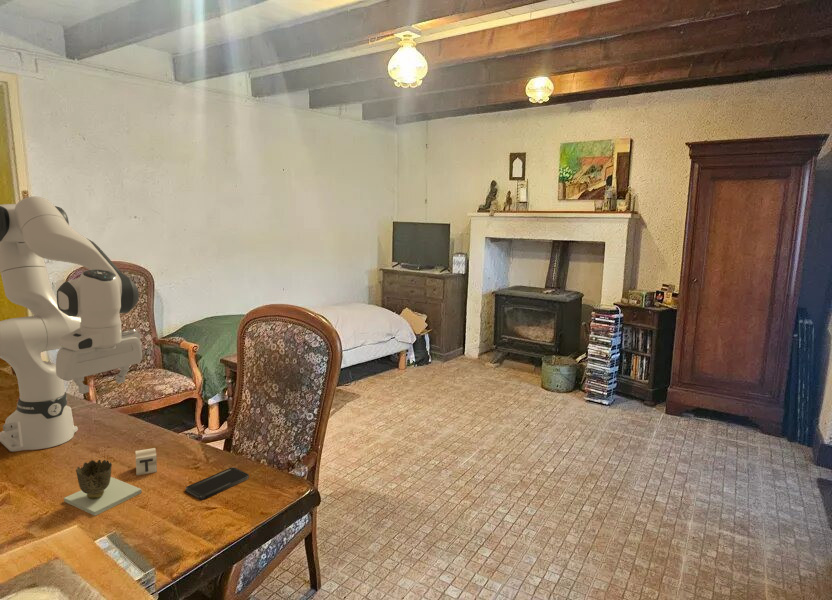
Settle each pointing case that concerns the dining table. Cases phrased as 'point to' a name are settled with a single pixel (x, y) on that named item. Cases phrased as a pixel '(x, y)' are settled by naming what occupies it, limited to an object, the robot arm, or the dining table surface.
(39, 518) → the dining table surface
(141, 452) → the letter cube
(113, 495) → the sage board
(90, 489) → the cup
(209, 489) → the phone
